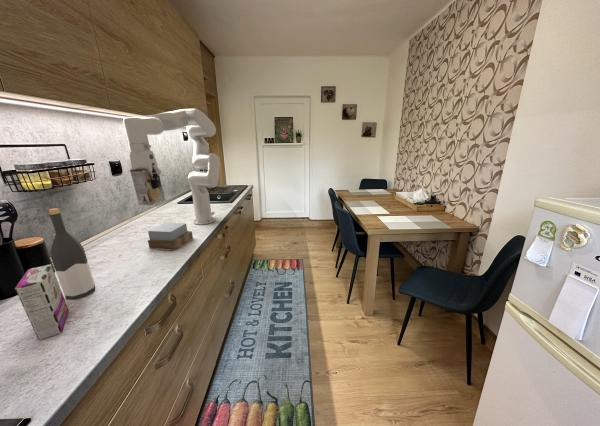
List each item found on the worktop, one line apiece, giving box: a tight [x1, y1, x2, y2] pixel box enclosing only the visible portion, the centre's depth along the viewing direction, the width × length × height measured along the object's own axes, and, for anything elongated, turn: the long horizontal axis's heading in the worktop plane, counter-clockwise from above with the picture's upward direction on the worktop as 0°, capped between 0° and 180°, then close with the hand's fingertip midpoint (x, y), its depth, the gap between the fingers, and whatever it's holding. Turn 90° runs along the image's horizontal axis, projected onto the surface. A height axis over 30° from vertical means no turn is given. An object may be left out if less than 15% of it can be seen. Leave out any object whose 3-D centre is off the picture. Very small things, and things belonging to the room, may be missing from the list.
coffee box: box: [129, 169, 165, 207], centre depth 110 cm, size 9×6×16 cm
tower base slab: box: [147, 230, 194, 251], centre depth 121 cm, size 14×14×4 cm
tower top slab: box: [147, 222, 188, 241], centre depth 120 cm, size 12×12×4 cm
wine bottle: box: [48, 207, 96, 301], centre depth 78 cm, size 8×8×30 cm
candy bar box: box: [14, 263, 70, 341], centre depth 66 cm, size 11×5×16 cm, turn 35°
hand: (149, 187), depth 111 cm, fingers closed on coffee box, 6 cm apart
